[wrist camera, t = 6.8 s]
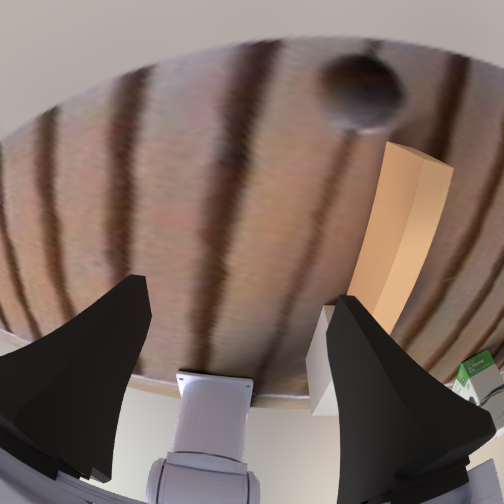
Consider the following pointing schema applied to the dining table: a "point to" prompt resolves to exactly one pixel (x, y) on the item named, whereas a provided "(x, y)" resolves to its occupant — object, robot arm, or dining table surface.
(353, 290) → the tan rectangular bar
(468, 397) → the ink box
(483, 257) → the dining table surface
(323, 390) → the box
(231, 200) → the dining table surface
